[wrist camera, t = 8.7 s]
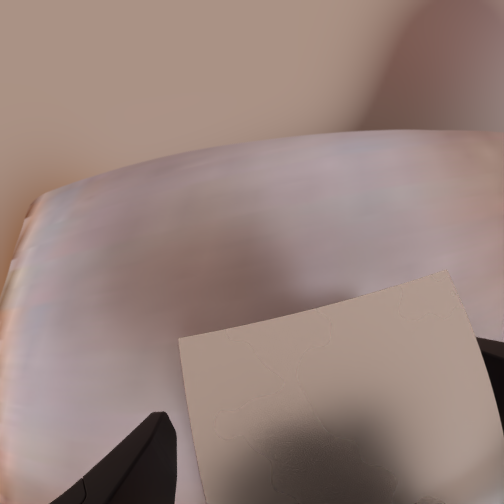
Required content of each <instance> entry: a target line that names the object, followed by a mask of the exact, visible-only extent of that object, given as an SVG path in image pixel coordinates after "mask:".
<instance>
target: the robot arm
mask: <svg viewBox="0 0 504 504" xmlns="http://www.w3.org/2000/svg"><path fill="white" fill-rule="evenodd" d="M476 340H477V343H478V345H479V348H480V351H481V354H482V357H483V360H484V363H485V366H486V369H487V372H488V376H489V379H490V382H491V386H492V389H493V393H494V397H495V400H496V404H497V408H498V412H499V416H500V421H501V425H502V430H503V435H504V342H499V341H494V340H488V339H483V338H478V337H476ZM176 482H177V436H176V431H175V429H174V427H173V425H172V423H171V421H170V419H169V417H168V415H167V413H166V412H164V411H162V412H153V413H151V414H150V415H149V416H148V417H147V418H146V419H145V420H144V421H143V422H142V423H141V424H140V425H139V426H137V427H136V428H135V429H134V430H133V431H132V432H131V433H130V434H129V435H128V436H127V437H126V438H125V439H124V440H123V441H122V442H120V443H119V444H118V445H117V446H116V447H115V448H114V449H113V450H112V451H111V452H110V453H109V454H108V455H106V456H105V457H104V458H103V459H102V460H101V461H100V462H99V463H98V464H97V465H95V466H94V467H93V468H92V469H91V470H90V471H89V472H88V473H87V474H85V475H84V476H83V478H81V479H80V480H79V481H78V482H76V483H75V484H74V485H73V486H72V487H71V488H69V489H68V490H67V491H66V492H64V493H63V494H62V495H61V496H59V497H58V498H57V499H55V500H54V501H52V502H51V503H50V504H174V501H175V492H176Z"/></svg>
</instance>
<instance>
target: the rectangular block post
mask: <svg viewBox="0 0 504 504" xmlns="http://www.w3.org/2000/svg"><path fill="white" fill-rule="evenodd" d="M178 343H179V351H180V359H181V366H182V374H183V381H184V387H185V394H186V401H187V407H188V413H189V419H190V425H191V430H192V436H193V441H194V447H195V452H196V457H197V462H198V467H199V472H200V476H201V481H202V485H203V490H204V494H205V498H206V503H207V504H504V435H503V430H502V425H501V421H500V416H499V412H498V408H497V404H496V400H495V397H494V393H493V389H492V386H491V382H490V379H489V376H488V372H487V369H486V366H485V363H484V360H483V357H482V354H481V351H480V348H479V345H478V343H477V340H476V337H475V334H474V332H473V329H472V326H471V324H470V321H469V319H468V316H467V314H466V311H465V309H464V307H463V304H462V302H461V299H460V297H459V295H458V293H457V290H456V288H455V286H454V284H453V281H452V279H451V277H450V275H449V273H448V271H447V270H444V271H441V272H438V273H435V274H432V275H429V276H425V277H422V278H419V279H416V280H413V281H410V282H406V283H403V284H400V285H397V286H393V287H390V288H387V289H383V290H380V291H377V292H373V293H370V294H366V295H363V296H359V297H356V298H352V299H348V300H345V301H341V302H337V303H334V304H330V305H326V306H322V307H318V308H314V309H310V310H306V311H302V312H298V313H294V314H290V315H286V316H282V317H278V318H273V319H269V320H265V321H260V322H256V323H251V324H247V325H242V326H237V327H233V328H228V329H223V330H218V331H213V332H208V333H203V334H198V335H193V336H187V337H182V338H178Z"/></svg>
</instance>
